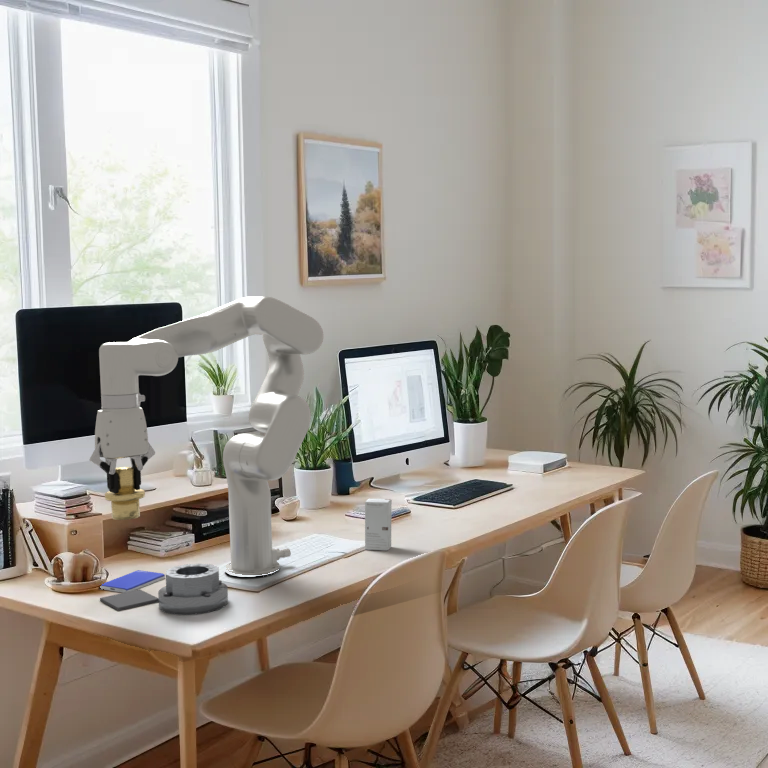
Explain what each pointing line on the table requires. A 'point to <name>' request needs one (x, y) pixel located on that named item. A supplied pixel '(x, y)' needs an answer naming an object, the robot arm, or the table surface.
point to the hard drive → (132, 581)
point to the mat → (129, 599)
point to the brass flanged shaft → (125, 496)
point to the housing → (193, 590)
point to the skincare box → (378, 524)
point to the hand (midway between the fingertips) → (124, 489)
